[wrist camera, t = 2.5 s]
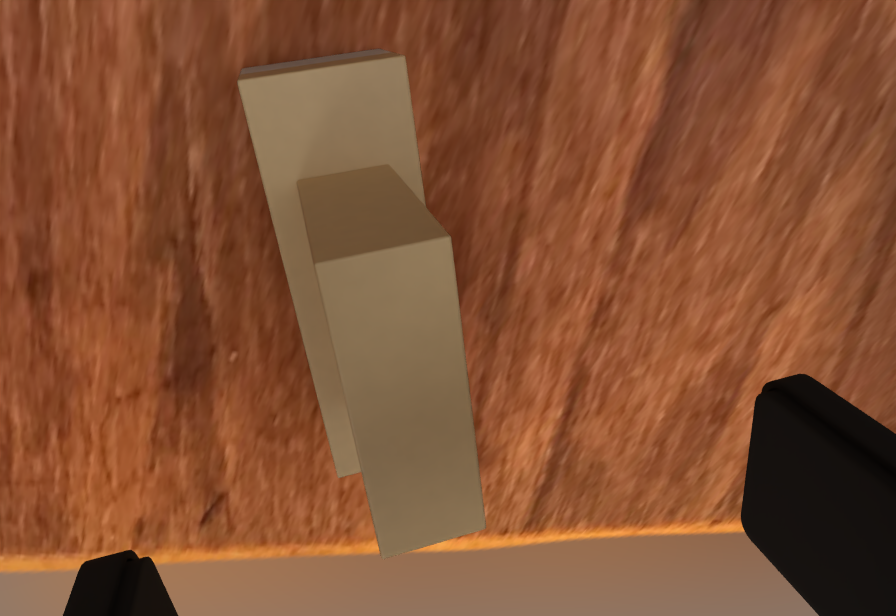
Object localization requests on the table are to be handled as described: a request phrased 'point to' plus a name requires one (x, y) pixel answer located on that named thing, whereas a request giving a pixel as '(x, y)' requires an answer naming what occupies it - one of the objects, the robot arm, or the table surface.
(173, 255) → the table surface
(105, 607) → the robot arm
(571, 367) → the table surface
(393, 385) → the wooden block stamp
